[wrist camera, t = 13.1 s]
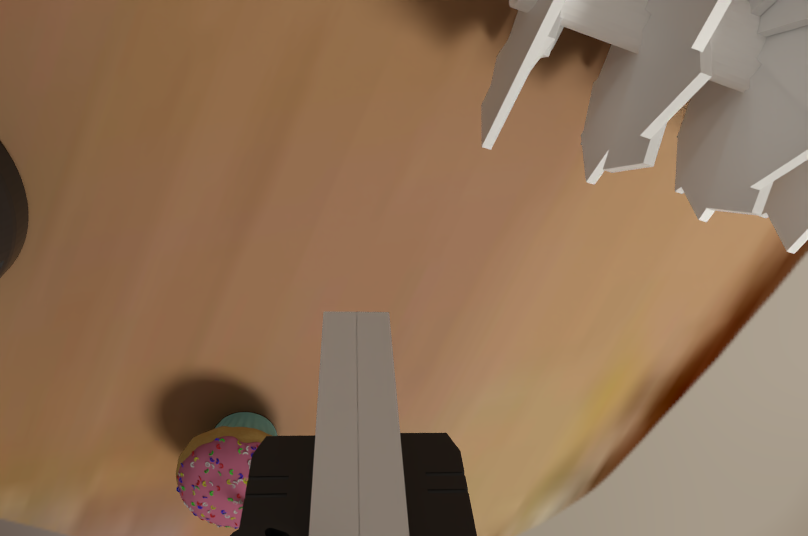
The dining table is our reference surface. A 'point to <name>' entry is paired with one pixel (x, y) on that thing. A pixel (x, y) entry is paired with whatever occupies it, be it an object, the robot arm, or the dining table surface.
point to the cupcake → (221, 467)
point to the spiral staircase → (684, 96)
